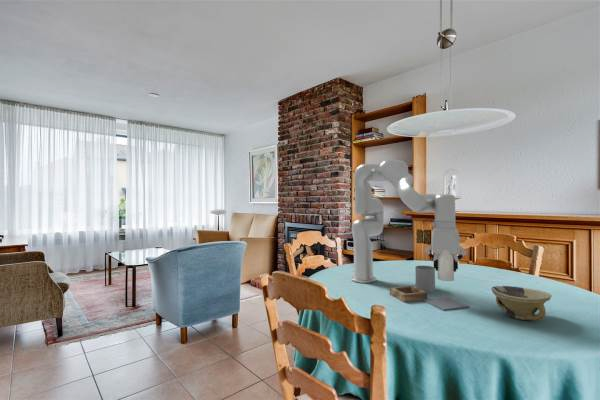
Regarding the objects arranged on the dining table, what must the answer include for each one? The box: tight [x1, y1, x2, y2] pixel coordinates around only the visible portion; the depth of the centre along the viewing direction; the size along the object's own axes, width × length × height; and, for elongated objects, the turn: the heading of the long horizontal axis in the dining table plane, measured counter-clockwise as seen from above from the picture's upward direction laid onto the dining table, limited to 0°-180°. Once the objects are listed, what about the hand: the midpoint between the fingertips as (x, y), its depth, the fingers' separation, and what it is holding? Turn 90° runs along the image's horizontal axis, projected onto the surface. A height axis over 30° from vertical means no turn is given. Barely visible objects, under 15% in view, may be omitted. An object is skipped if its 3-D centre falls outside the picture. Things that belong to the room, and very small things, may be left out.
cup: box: [415, 265, 436, 293], centre depth 148 cm, size 8×8×10 cm
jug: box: [436, 250, 455, 282], centre depth 126 cm, size 8×6×12 cm
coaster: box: [422, 296, 470, 312], centre depth 127 cm, size 12×12×1 cm
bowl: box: [490, 285, 552, 322], centre depth 113 cm, size 18×18×10 cm
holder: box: [389, 285, 428, 303], centre depth 137 cm, size 11×11×3 cm
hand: (445, 270), depth 127 cm, fingers closed on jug, 6 cm apart
